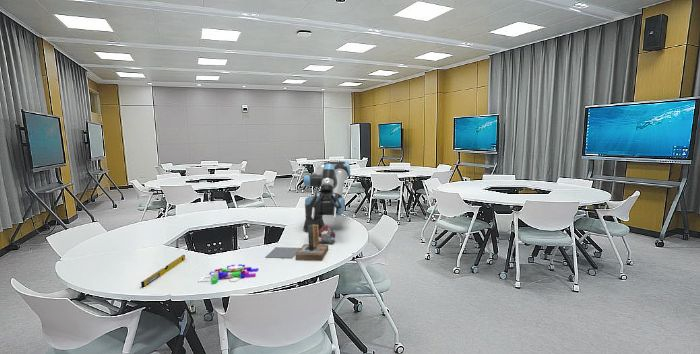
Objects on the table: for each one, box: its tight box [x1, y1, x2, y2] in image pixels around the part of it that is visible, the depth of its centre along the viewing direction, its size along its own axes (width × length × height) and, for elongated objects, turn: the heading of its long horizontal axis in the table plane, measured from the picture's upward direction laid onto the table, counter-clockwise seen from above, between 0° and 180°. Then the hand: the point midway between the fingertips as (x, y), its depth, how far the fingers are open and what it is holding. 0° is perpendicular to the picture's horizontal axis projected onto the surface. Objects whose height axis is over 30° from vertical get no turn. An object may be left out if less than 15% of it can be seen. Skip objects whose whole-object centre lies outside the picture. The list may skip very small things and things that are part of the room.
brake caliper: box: [319, 224, 336, 245], centre depth 204 cm, size 11×11×12 cm
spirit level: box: [140, 254, 186, 288], centre depth 165 cm, size 33×1×3 cm, turn 177°
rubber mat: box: [264, 246, 301, 259], centre depth 188 cm, size 16×15×1 cm
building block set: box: [197, 263, 259, 285], centre depth 161 cm, size 25×20×4 cm
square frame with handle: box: [301, 224, 321, 254], centre depth 183 cm, size 14×9×12 cm, turn 172°
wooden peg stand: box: [294, 225, 329, 262], centre depth 183 cm, size 17×14×17 cm
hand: (323, 218), depth 202 cm, fingers open, 13 cm apart
